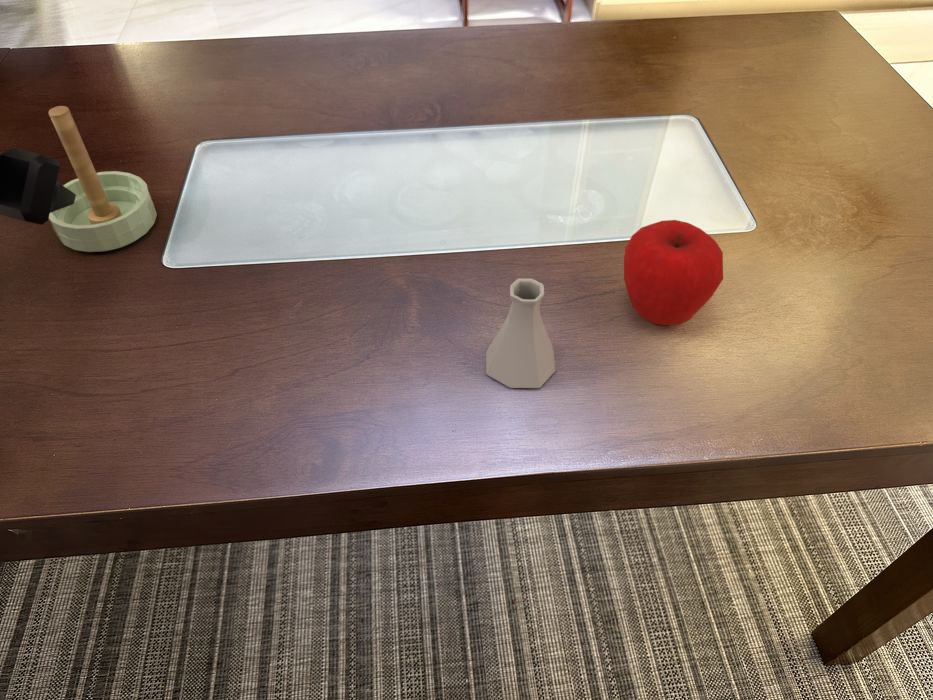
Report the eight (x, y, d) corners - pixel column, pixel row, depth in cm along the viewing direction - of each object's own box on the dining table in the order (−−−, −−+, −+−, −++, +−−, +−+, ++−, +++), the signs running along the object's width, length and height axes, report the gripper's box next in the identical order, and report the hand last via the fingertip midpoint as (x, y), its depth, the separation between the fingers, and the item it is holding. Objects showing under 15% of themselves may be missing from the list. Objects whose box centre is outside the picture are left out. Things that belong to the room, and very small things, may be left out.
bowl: (47, 258, 83) (32, 230, 80) (74, 201, 90) (61, 173, 87) (148, 253, 83) (136, 225, 80) (165, 196, 91) (156, 169, 88)
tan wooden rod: (110, 234, 85) (60, 121, 74) (85, 227, 86) (32, 115, 75) (129, 216, 87) (84, 105, 76) (105, 210, 88) (56, 99, 77)
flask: (564, 347, 74) (575, 273, 66) (546, 399, 69) (556, 325, 62) (496, 330, 75) (500, 256, 68) (474, 380, 71) (476, 306, 63)
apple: (724, 325, 76) (755, 244, 68) (652, 357, 73) (675, 275, 65) (665, 271, 82) (687, 190, 74) (595, 297, 79) (611, 216, 71)
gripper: (-6, 74, 58) (128, 131, 73) (-175, 37, 62) (-15, 98, 78) (-35, 209, 59) (104, 238, 74) (-201, 163, 63) (-37, 199, 78)
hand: (38, 189), depth 76 cm, fingers open, 9 cm apart
